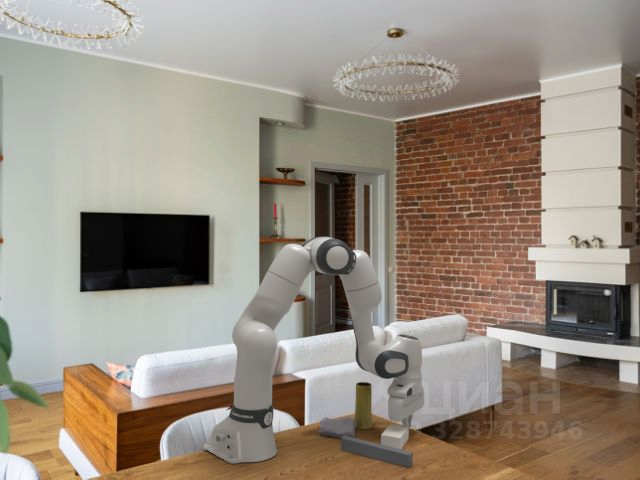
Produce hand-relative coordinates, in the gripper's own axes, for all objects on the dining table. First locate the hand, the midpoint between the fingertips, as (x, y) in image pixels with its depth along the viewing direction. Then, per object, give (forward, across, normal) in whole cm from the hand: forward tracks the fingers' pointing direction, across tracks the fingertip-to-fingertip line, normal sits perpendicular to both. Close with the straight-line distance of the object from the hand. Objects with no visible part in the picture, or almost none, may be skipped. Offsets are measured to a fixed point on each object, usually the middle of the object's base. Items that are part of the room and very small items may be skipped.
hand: (406, 427), depth 177 cm
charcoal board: (+2, +22, 0) cm, 22 cm away
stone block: (+3, +12, -19) cm, 23 cm away
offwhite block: (+2, +9, 0) cm, 9 cm away
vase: (+2, +2, -15) cm, 15 cm away
